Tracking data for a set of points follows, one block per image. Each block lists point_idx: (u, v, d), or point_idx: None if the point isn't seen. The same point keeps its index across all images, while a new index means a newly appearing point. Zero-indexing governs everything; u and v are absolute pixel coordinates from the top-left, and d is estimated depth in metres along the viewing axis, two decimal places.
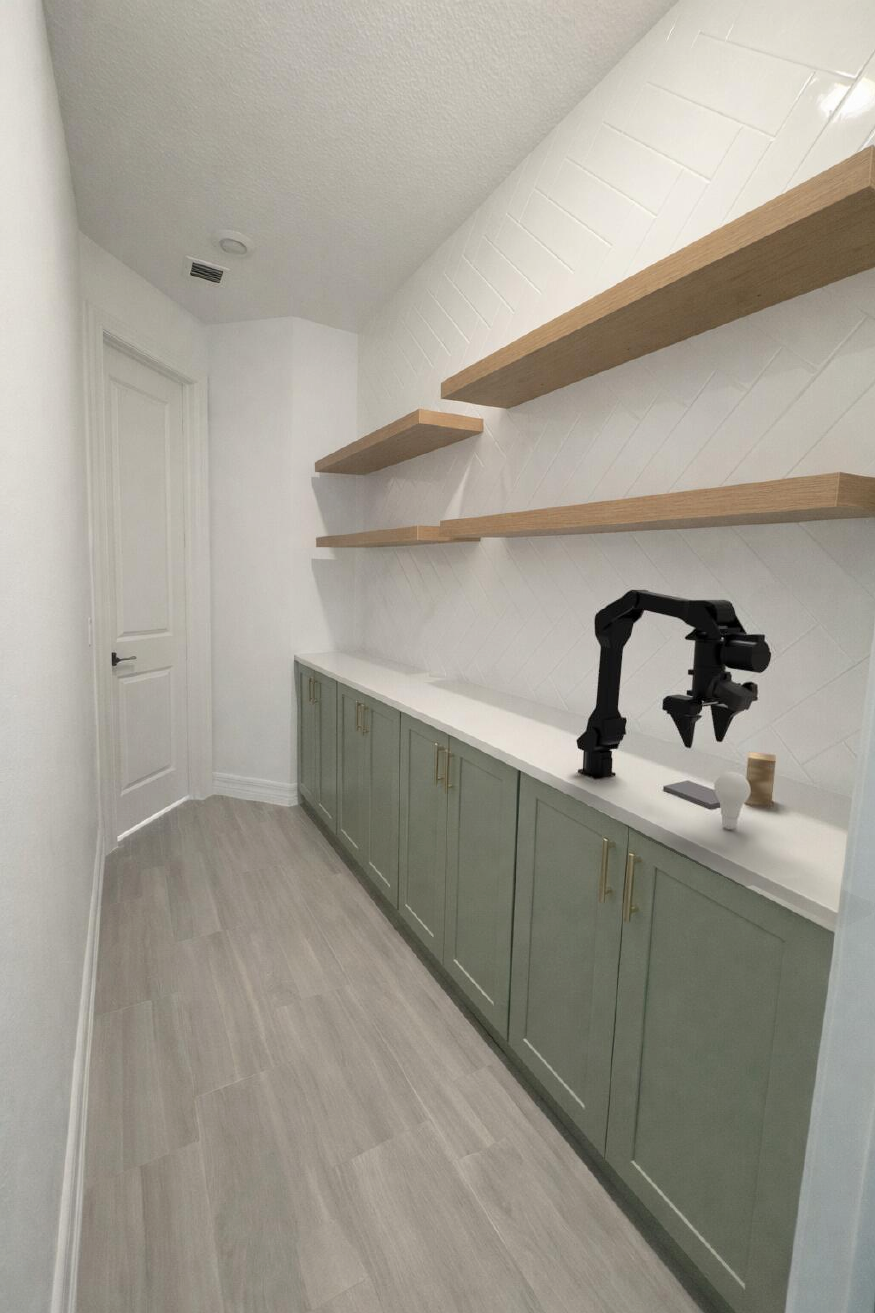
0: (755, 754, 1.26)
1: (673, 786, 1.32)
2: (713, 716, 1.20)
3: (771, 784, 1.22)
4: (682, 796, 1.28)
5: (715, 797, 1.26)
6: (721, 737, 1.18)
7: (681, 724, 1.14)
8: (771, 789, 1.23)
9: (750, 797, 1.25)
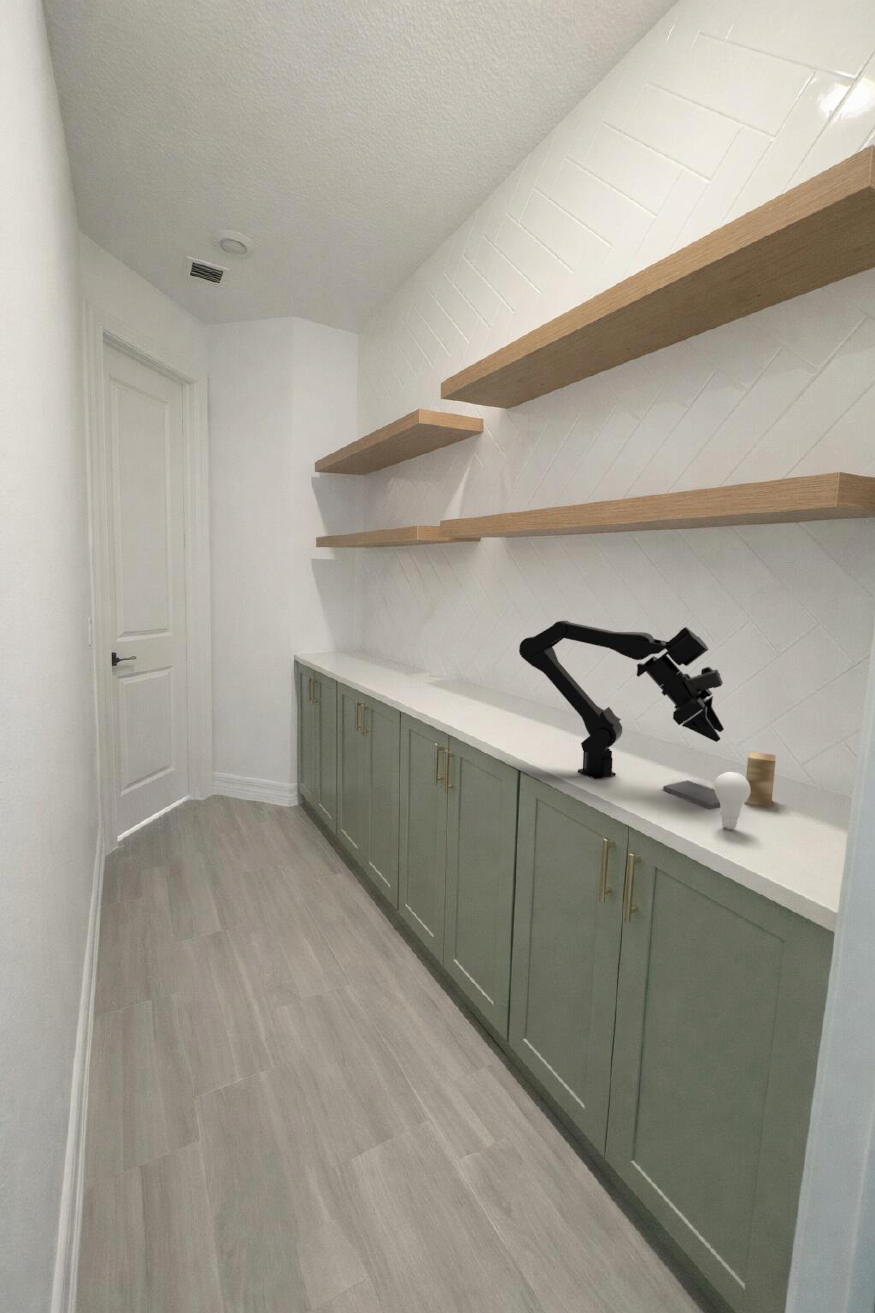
0: (755, 754, 1.26)
1: (673, 786, 1.32)
2: None
3: (771, 784, 1.22)
4: (682, 796, 1.28)
5: (715, 797, 1.26)
6: (721, 725, 1.32)
7: (699, 727, 1.25)
8: (771, 789, 1.23)
9: (750, 797, 1.25)
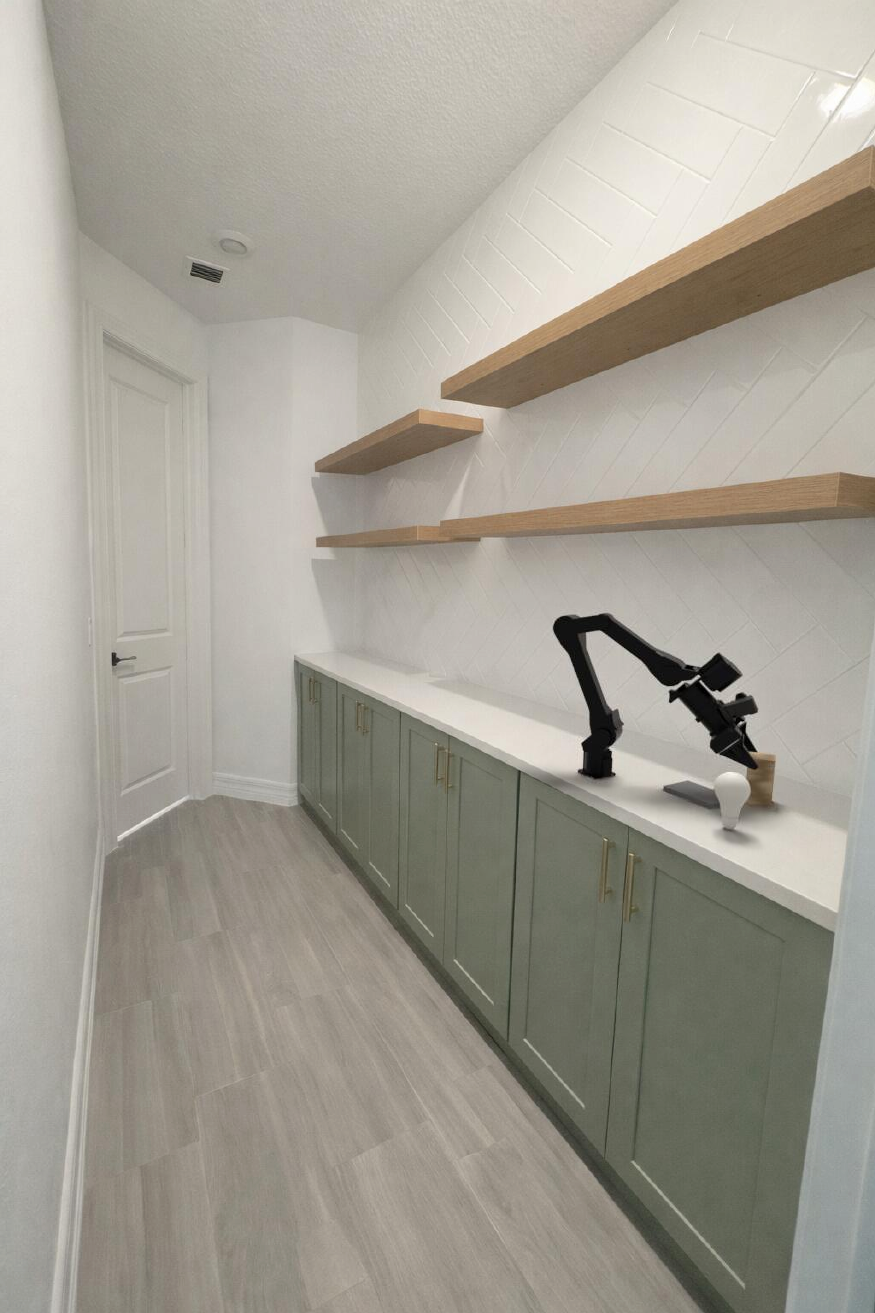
0: (755, 754, 1.26)
1: (673, 786, 1.32)
2: None
3: (771, 784, 1.22)
4: (682, 796, 1.28)
5: (715, 797, 1.26)
6: (756, 752, 1.29)
7: (736, 755, 1.22)
8: (771, 789, 1.23)
9: (750, 797, 1.25)
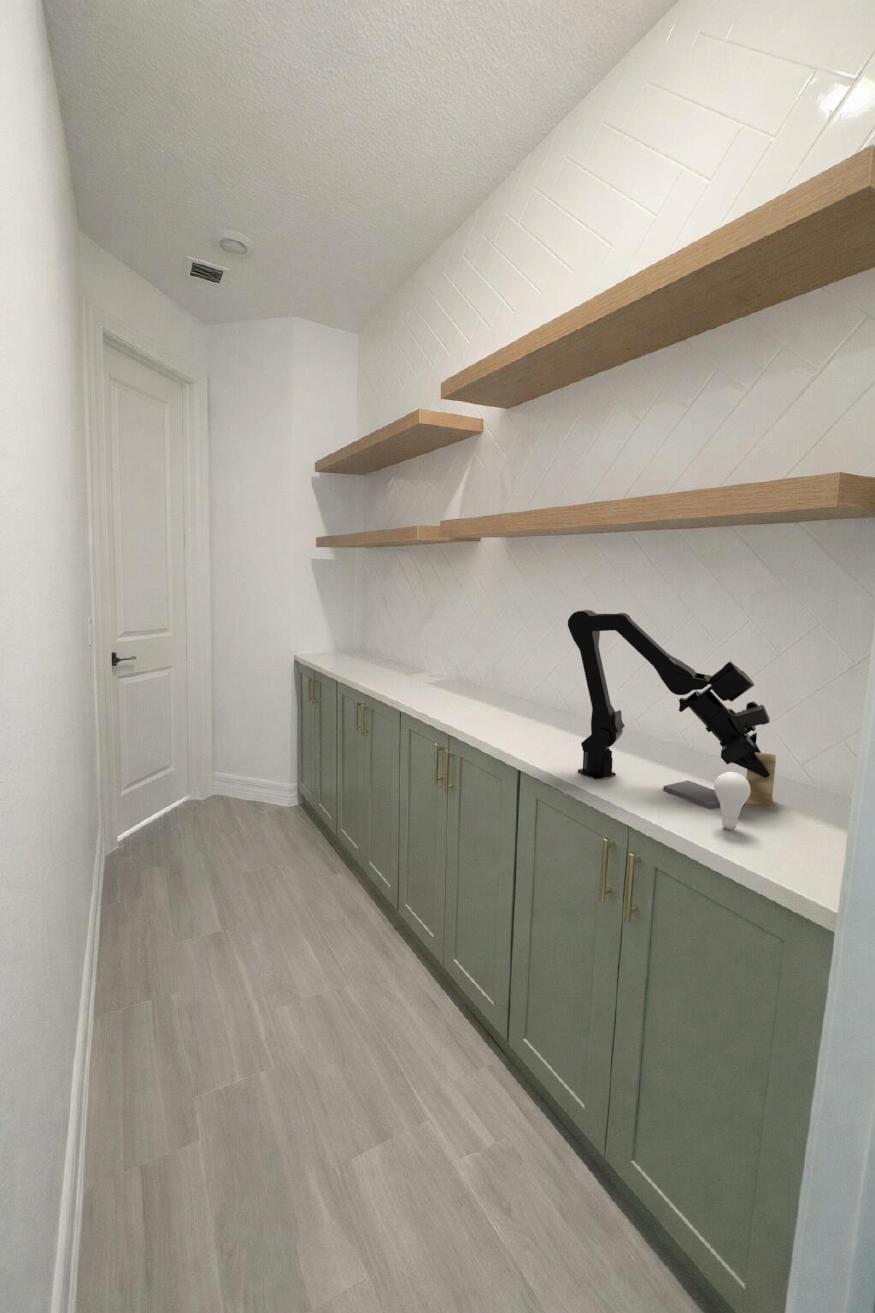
0: None
1: (673, 786, 1.32)
2: None
3: (771, 784, 1.22)
4: (682, 796, 1.28)
5: (715, 797, 1.26)
6: None
7: (748, 763, 1.23)
8: (771, 789, 1.23)
9: (750, 797, 1.25)
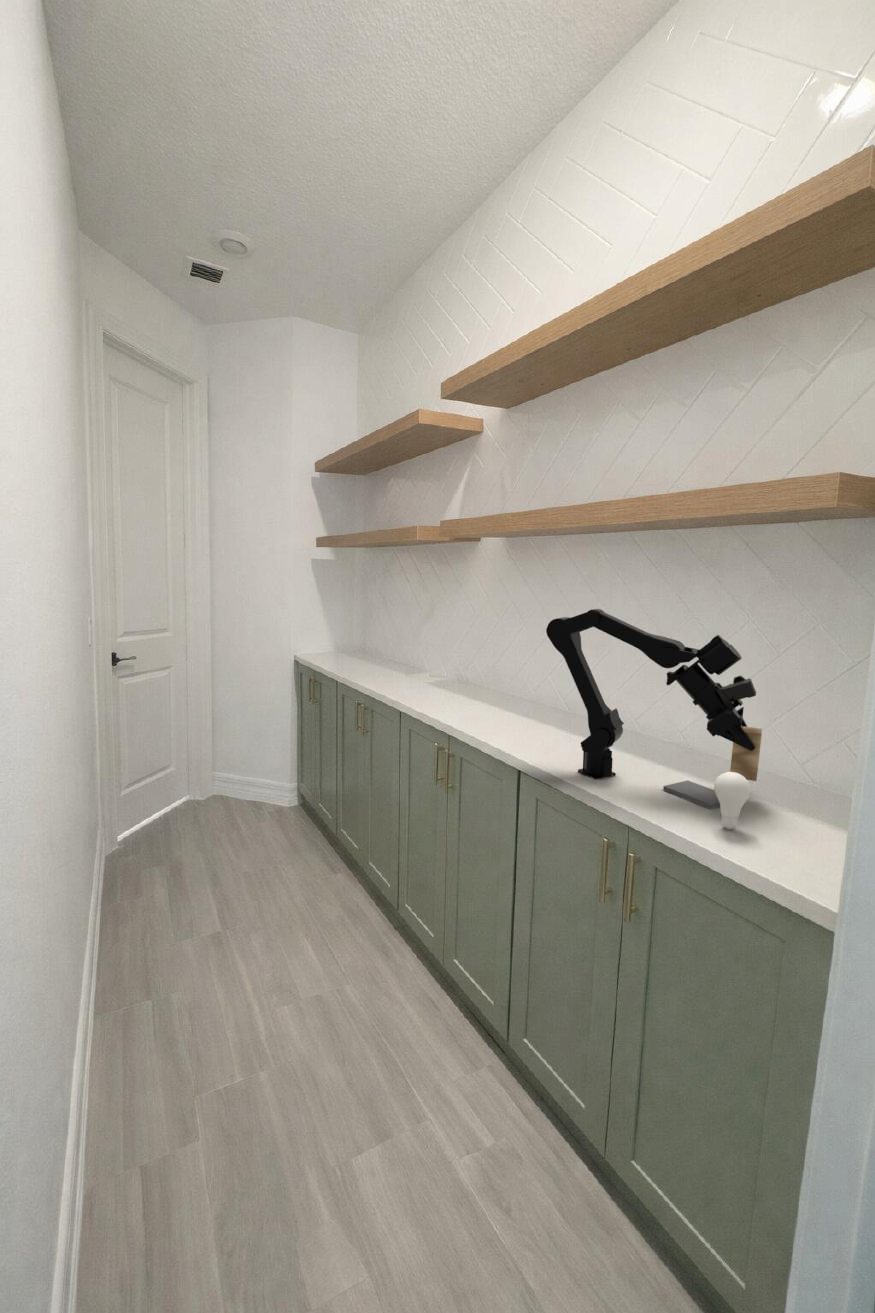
0: None
1: (673, 786, 1.32)
2: None
3: (757, 757, 1.23)
4: (682, 796, 1.28)
5: (715, 797, 1.26)
6: None
7: (733, 735, 1.23)
8: (757, 762, 1.23)
9: (736, 770, 1.25)
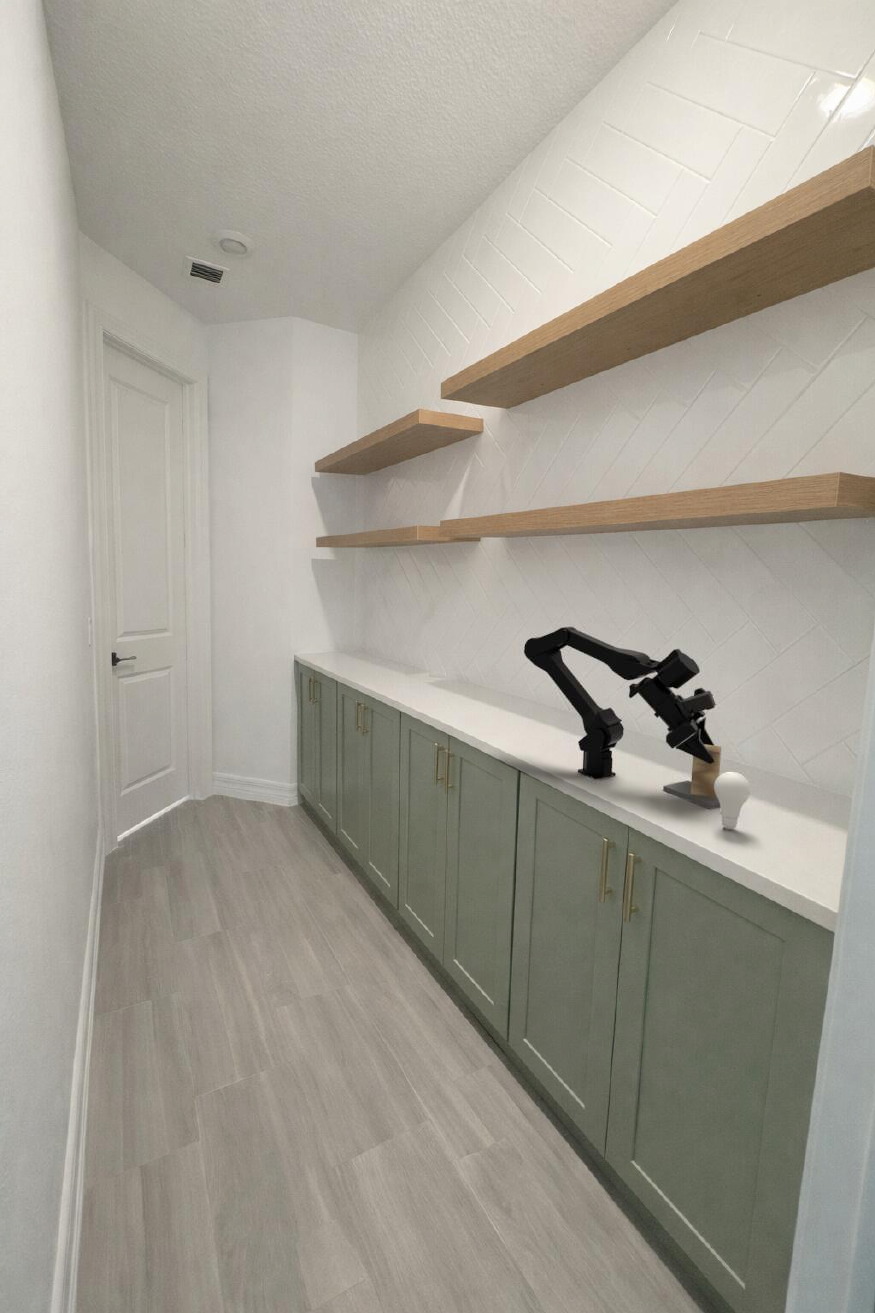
0: None
1: (673, 786, 1.32)
2: None
3: (716, 775, 1.25)
4: (682, 796, 1.28)
5: None
6: None
7: (692, 749, 1.24)
8: None
9: (696, 788, 1.27)
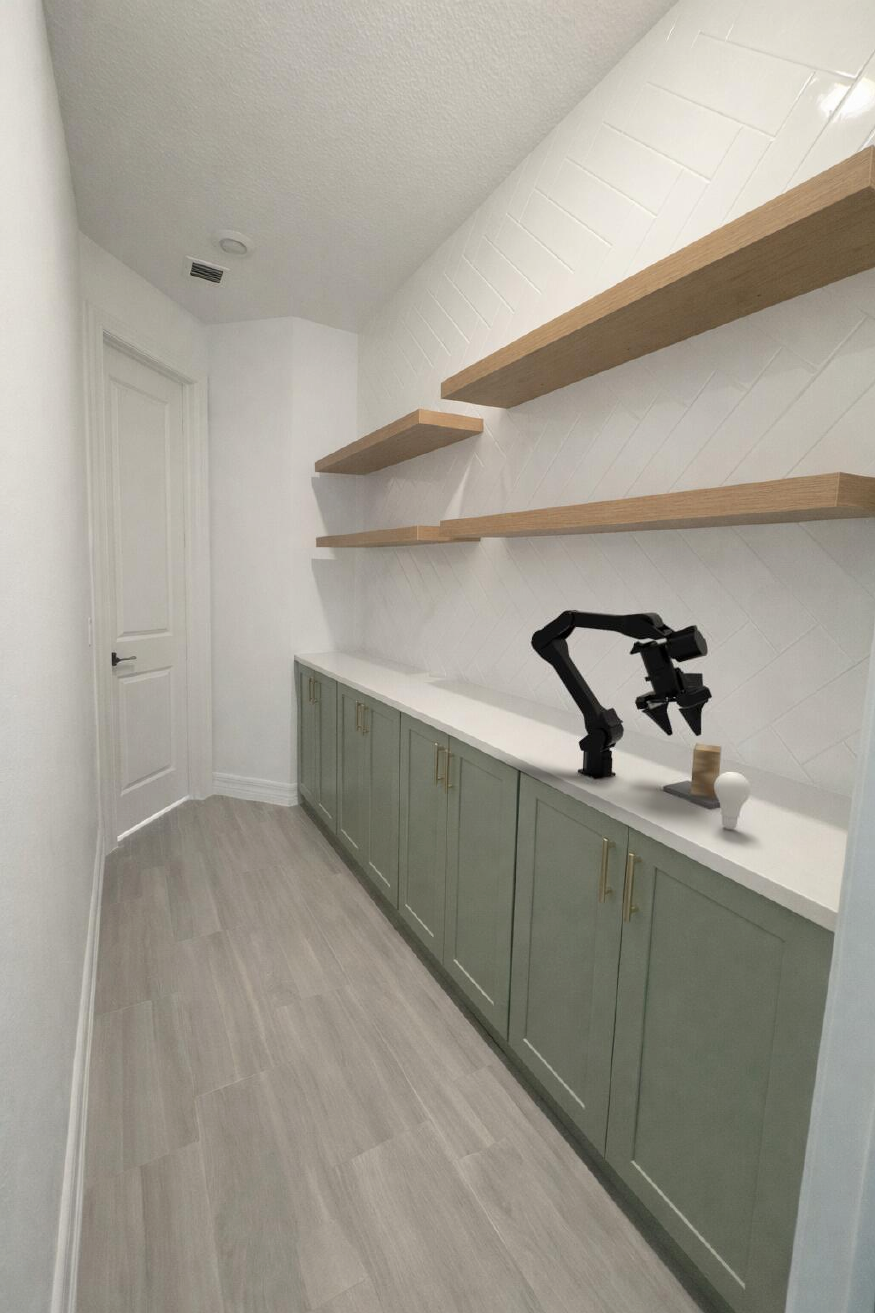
0: (701, 746, 1.28)
1: (673, 786, 1.32)
2: (656, 718, 1.34)
3: (716, 775, 1.25)
4: (682, 796, 1.28)
5: None
6: (671, 730, 1.35)
7: (692, 716, 1.25)
8: None
9: (696, 788, 1.27)
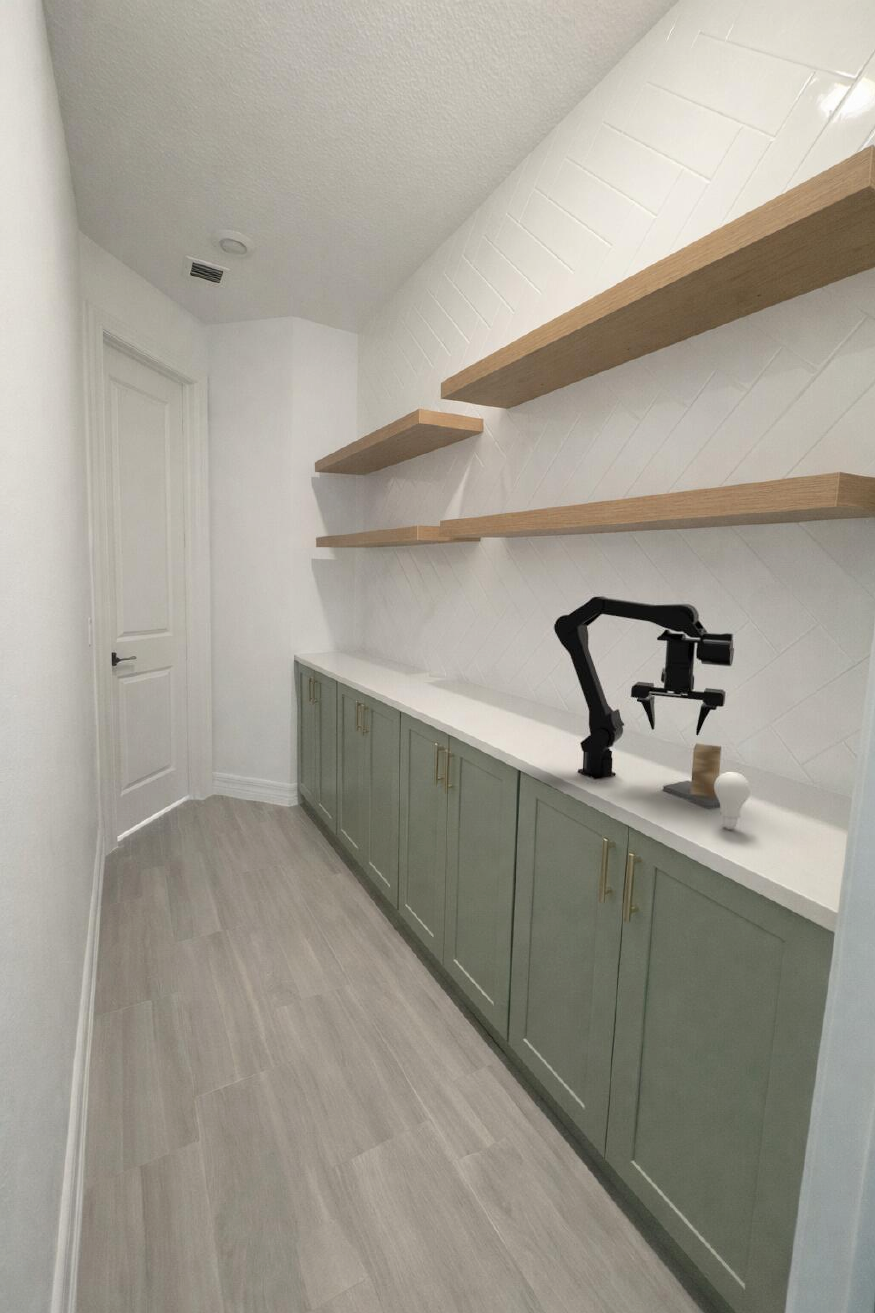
0: (701, 746, 1.28)
1: (673, 786, 1.32)
2: (651, 710, 1.32)
3: (716, 775, 1.25)
4: (682, 796, 1.28)
5: None
6: (654, 724, 1.34)
7: None
8: None
9: (696, 788, 1.27)
